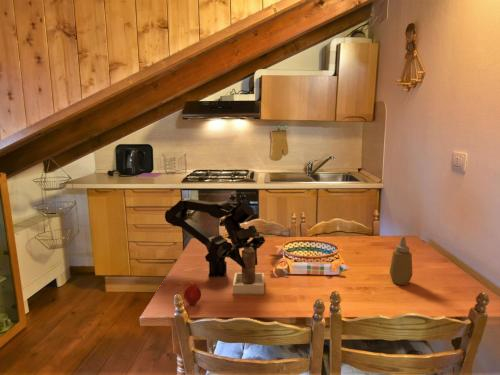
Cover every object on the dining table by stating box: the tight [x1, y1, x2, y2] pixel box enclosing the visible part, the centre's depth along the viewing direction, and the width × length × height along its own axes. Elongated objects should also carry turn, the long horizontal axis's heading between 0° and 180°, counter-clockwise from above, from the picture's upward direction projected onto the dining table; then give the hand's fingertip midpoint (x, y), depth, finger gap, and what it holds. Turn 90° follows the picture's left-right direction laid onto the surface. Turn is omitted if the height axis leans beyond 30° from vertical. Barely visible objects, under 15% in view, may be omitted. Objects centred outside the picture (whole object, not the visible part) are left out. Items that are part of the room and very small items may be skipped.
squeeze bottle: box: [389, 236, 413, 286], centre depth 140 cm, size 8×8×18 cm
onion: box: [183, 282, 202, 306], centre depth 125 cm, size 6×6×8 cm
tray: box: [232, 272, 265, 296], centre depth 138 cm, size 11×11×4 cm
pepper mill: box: [241, 247, 256, 284], centre depth 137 cm, size 5×5×13 cm
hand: (250, 266), depth 136 cm, fingers closed on pepper mill, 5 cm apart
